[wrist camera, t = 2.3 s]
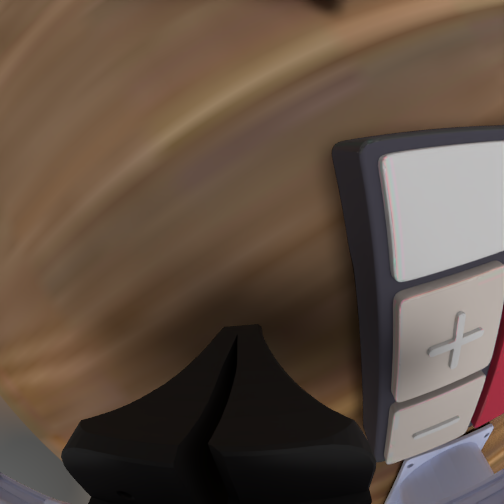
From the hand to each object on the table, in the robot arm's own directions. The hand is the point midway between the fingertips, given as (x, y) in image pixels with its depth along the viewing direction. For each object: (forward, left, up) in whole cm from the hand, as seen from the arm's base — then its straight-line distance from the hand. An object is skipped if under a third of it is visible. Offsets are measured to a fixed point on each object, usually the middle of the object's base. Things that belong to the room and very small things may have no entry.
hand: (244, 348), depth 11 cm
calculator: (0, -10, -2) cm, 10 cm away
